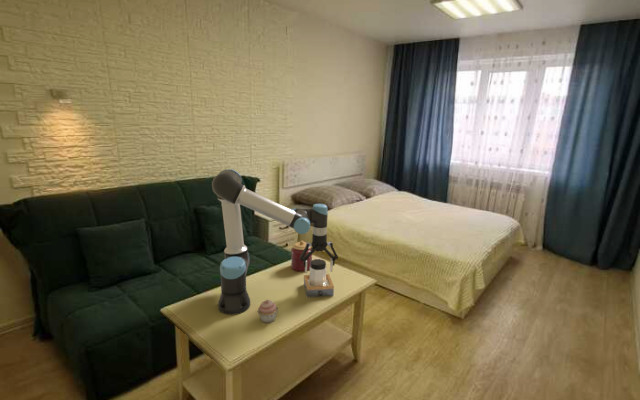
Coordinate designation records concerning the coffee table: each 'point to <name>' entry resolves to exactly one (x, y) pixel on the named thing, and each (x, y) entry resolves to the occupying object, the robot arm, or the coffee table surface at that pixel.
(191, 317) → the coffee table surface
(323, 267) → the jar
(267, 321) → the cupcake
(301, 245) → the canister
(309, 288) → the small square box
